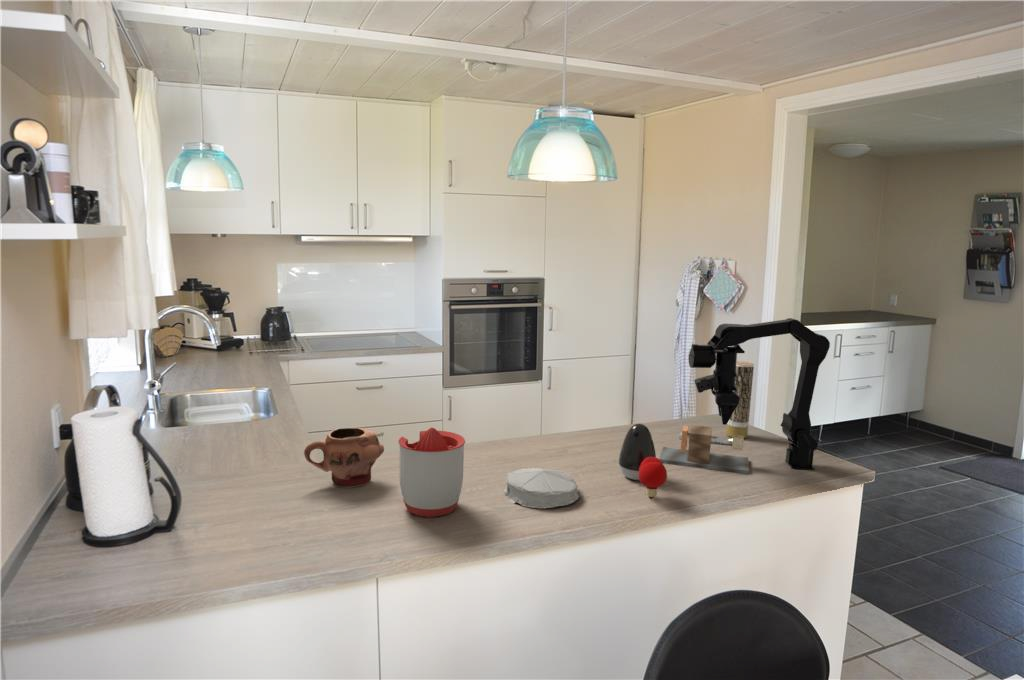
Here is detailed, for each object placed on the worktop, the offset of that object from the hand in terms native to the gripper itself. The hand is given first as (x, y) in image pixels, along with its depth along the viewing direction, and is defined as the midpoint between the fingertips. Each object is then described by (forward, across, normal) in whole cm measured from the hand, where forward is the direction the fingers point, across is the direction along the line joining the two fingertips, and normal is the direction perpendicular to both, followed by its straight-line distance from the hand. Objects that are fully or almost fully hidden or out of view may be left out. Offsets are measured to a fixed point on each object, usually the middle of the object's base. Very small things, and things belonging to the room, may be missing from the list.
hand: (722, 420), depth 196 cm
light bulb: (+13, +32, -20) cm, 40 cm away
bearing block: (+13, 0, -5) cm, 14 cm away
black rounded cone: (+13, +18, -24) cm, 33 cm away
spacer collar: (+10, -1, -11) cm, 14 cm away
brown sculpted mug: (+10, +44, -98) cm, 108 cm away
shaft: (+8, 0, -3) cm, 9 cm away
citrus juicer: (+11, +53, -73) cm, 91 cm away
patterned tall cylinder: (+14, -30, +8) cm, 34 cm away
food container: (+12, +37, -48) cm, 62 cm away
